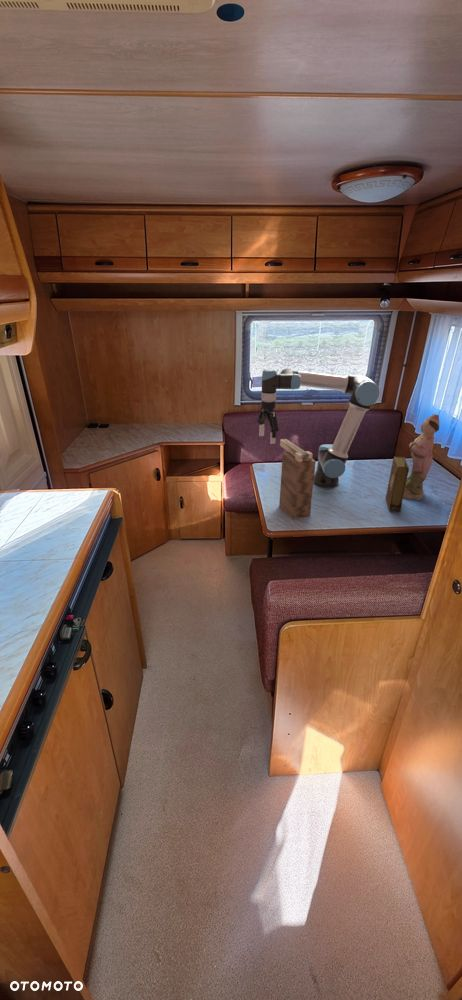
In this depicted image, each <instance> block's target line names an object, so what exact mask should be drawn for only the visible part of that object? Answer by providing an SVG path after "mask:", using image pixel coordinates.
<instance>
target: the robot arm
mask: <svg viewBox="0 0 462 1000" xmlns="http://www.w3.org/2000/svg"><path fill="white" fill-rule="evenodd" d="M280 371H281V372H280V373H278V370H277V369H274V368H273V369H272V368H268V369H267V368H266V369H264V370H262V373H261V394H260V397H261V401H260V404H261V405H260V408H259V409H260V410H259V414H258V417H257V421H256V422H257V423H258V424H259V427H258V428H259V430H258V431H259V432H258V437H264V436H265V423H266V420H267V421H268V422H269V423H268V424H269V426H270V437H269V439H270V441H269V443H270V445H273V444H276V439H277V436H276V435H277V432H279V426H278V424H279V423H278V418H277V412H275V411H274V409H276V407H277V406H276V405H277V404H276V403H277V402H276V400H277V390H292V391H294V390H299V389H300V388H301V387H306V388H307V387H308V388H315V389H324V390H330V391H331V390H332V391H340V392H342V394H347V395H350V396H349V399H348V403H349V405H348V406H349V407H348V408H347V412H346V414H345V416H344V417H343V421H342V422H341V425H340V428H339V430H338V432H337V435H336V437H335V439H334V441H333V444H332V443H331V444H321V445H320V446H319V448H318V454H317V464H316V465H317V466H316V469H315V470H316V471H315V472H314V482H313V485H316V486H319V487H322V488H333V487H337V486H338V485H339V481H340V479H339V477H341V476H343V474H344V473H345V471H346V463H347V460H348V458H349V455H348V452H349V450H350V447H351V445H352V443H353V440H354V438H355V436H356V433H357V432H358V430H359V427H360V425H361V422H362V421H363V418H364V417H365V414H366V413H367V412H368V411H369V410H371V408H372V406H373V404H375V403H376V402H377V401H378V399H379V397H380V393H381V392H380V388H379V386H378V384H377V383H376V381H374V380H372V379H371V378H370V377H368V376H365V375H354V374H353V375H352V374H345V375H344V376H342V375H335V374H328V373H327V374H326V373H319V372H318V373H317V372H310V371H302V370H294V369H291V368H288V367H287V368H283V369H282V370H280Z"/></svg>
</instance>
